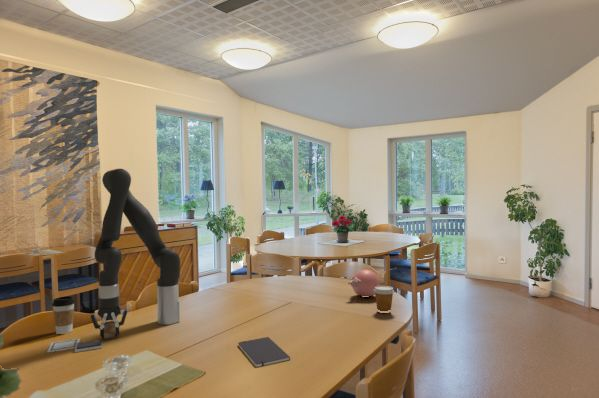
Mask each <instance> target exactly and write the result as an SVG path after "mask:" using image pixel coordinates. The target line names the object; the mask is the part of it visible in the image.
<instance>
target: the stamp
mask: <svg viewBox="0 0 599 398" xmlns="http://www.w3.org/2000/svg"><path fill="white" fill-rule="evenodd" d="M115 326H116V325H115V323H114V320H108V321H105V324H104V327H103V328H104V338H103V341H104V342H105V341H110V340H111V341H112V340H116V339H117V336H116V332H115Z"/></svg>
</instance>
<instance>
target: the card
mask: <svg viewBox="0 0 599 398" xmlns="http://www.w3.org/2000/svg"><path fill="white" fill-rule="evenodd" d="M79 341H80V342H81V338H73V339H69V340H60V341H54V342H50V344H49V347H48V348H47V351H46V354H49V352H50V353H54V352H55V351H56V352H60V351H68V349H69V350H73V349H74V350H75V347H76V344H78V343H80V342H79Z"/></svg>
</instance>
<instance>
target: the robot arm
mask: <svg viewBox="0 0 599 398" xmlns="http://www.w3.org/2000/svg"><path fill="white" fill-rule="evenodd" d="M131 182H132V177H131V174H130V172H129V171H127V170H126V169H123V168H115V169H111V170H107V171H106V172H105V173H104V174H103V175H102V184H103V187H104V188H105V190H106V191H107V192H108V193H109V194H110V195H109V200H108V201H109V202H108V205H107V209H106V210H105V214H104V215H103V220H102V225H101V235H100V237H99V239H98V242H97V244H96V247H95V251H94V260H95V261H96V262H97V263H99V264H101V265H102V264H103V265H105V269H103V270H101V271H100V272H99V274H98V276H99V277H98V311H97V312H94V313H91V314H90V318H91V321H92V325H93V327H94V329H96V330H98V329H99V336H100V338H101V339H104V324H105V322H107V321H114V323H115V334H116V337H118V336H119V335H120V327H121V326H123V325H124V324H125V321H126V319H127V315H128V309H127V308H126V309H121V307H120V286H119V270H120V267H121V263H122V259H123V255H122V252H121V250H120V248H118V247H116V246H115V247H114V246H113V243H114V242H117V241H119V239H120V237H121V231H122V222H123V216H125V217H126V219H127V220H128V223H129V224H130V226H131V227H132V229H133V231H134V232H135V233H136V235H138V237H139V239H140V240H141V241H142V243H143V244H144V246H146V248H147V250H148V252H149V255H150V256H151V258H152V260H153V263H154V264H155V265H156V267H157V268H158V269H159V271H160V272H159V273H160V274H159V278H157V281H156V282H157V283H156V285H157V286H156V288H157V289H156V290H157V297H156V299H157V324H158V325H163V326H167V325H169V326H170V325H174V324H176V323H179V322H180V299H179V294H180V293H179V280H180V276H181V256H180V255H179V253H178V252H177V251H174V250H172V249H169V248H168V246H167V245H166V244H165V243H164V241H163V240H162V237H160V234H159V233H160V232H159V229H158V226H157V223H156V221H155V219H154V217H153V216H152V214H151V212H150V211H149V210H148V209H147V208H146V206H145V205H143V203H142V202H140V201H139V200H138V199H137V198H136V197H135V196H134V194H133V193H132V192H131V191H130V187H131ZM123 214H124V215H123ZM120 313H121V320H120V321H119V320H118V316H119V314H120ZM98 316H99V317H100V318H101V322H100V324H99V323H98V321H97V319H98Z"/></svg>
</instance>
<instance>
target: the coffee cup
mask: <svg viewBox="0 0 599 398" xmlns="http://www.w3.org/2000/svg"><path fill="white" fill-rule="evenodd" d="M75 303H76V301H75V298H74V296H71V295H70V296H68V295H67V296H59V297H55V298H53V302H52V303H51V306H52V307H53V310H52V311H53V313H52V314H53V319H54V326H55V333H56V335H57V334H64V335H66V334H65V333H68V334H70V333H69V332H71V331H72V332H73V326H74V325H73V324H74V313H75ZM72 332H71V333H72Z"/></svg>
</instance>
